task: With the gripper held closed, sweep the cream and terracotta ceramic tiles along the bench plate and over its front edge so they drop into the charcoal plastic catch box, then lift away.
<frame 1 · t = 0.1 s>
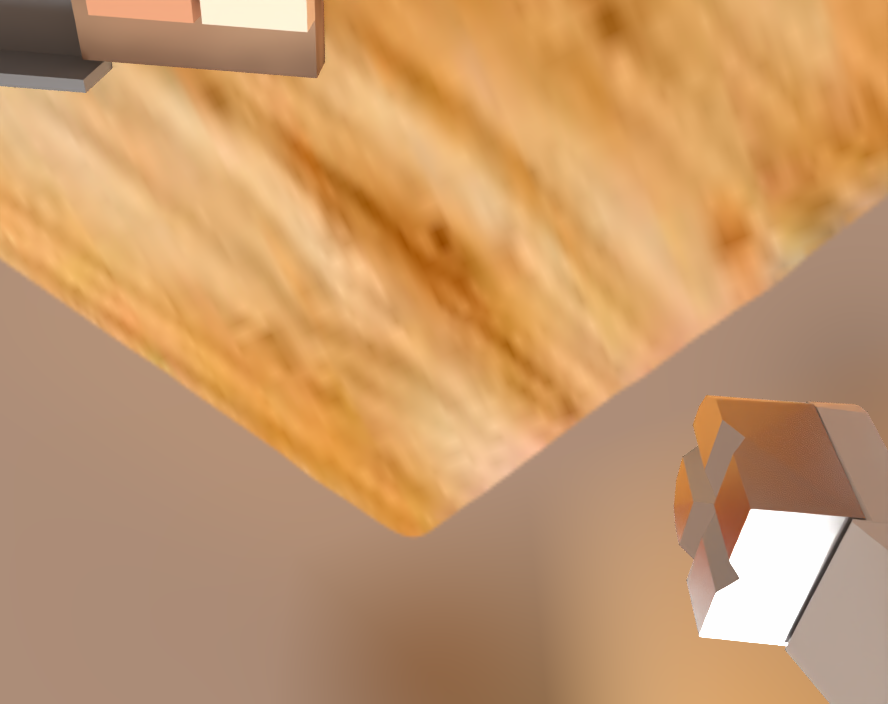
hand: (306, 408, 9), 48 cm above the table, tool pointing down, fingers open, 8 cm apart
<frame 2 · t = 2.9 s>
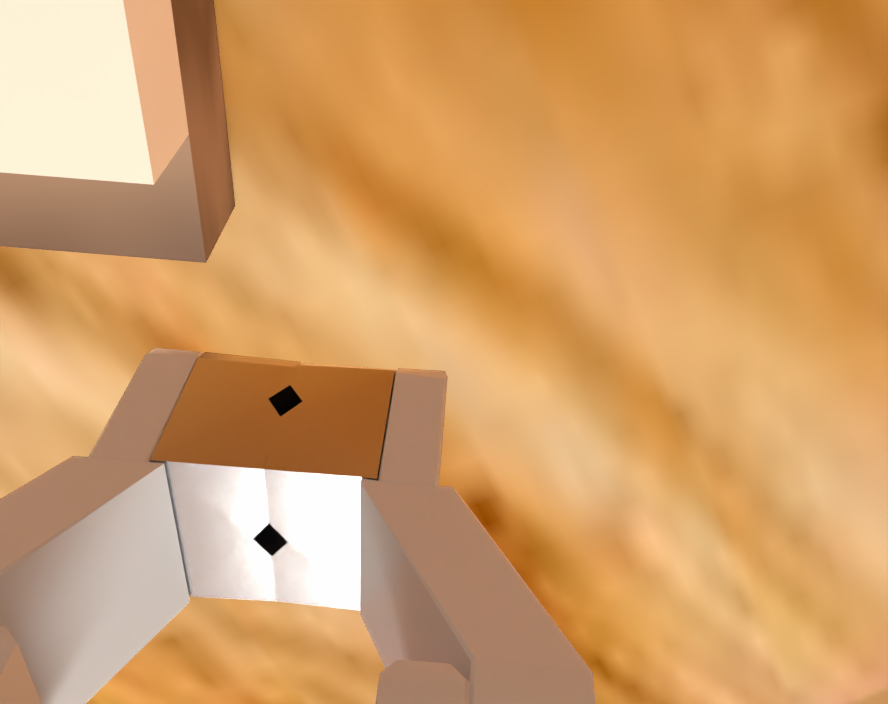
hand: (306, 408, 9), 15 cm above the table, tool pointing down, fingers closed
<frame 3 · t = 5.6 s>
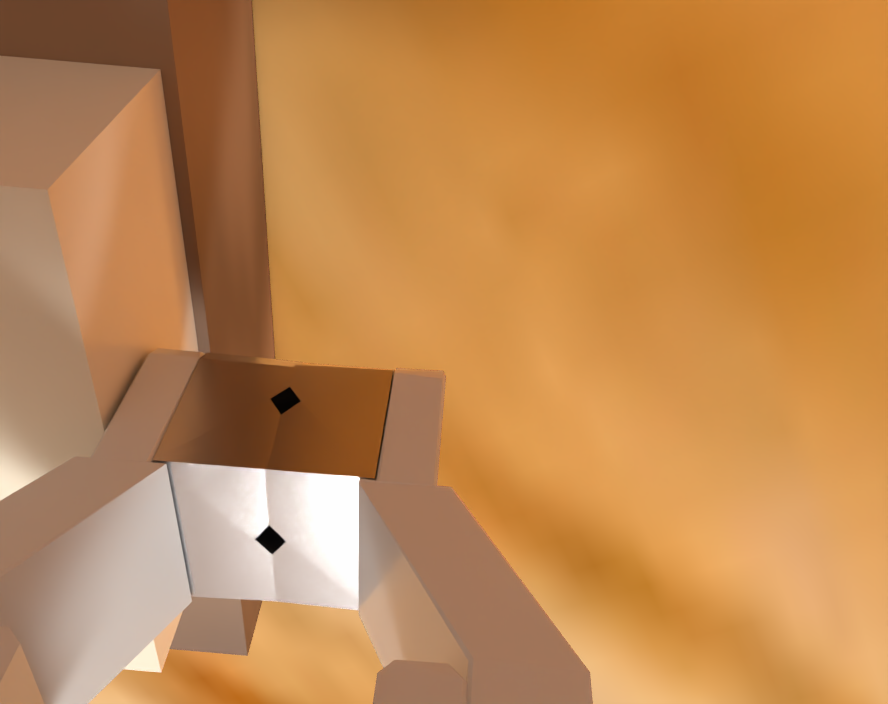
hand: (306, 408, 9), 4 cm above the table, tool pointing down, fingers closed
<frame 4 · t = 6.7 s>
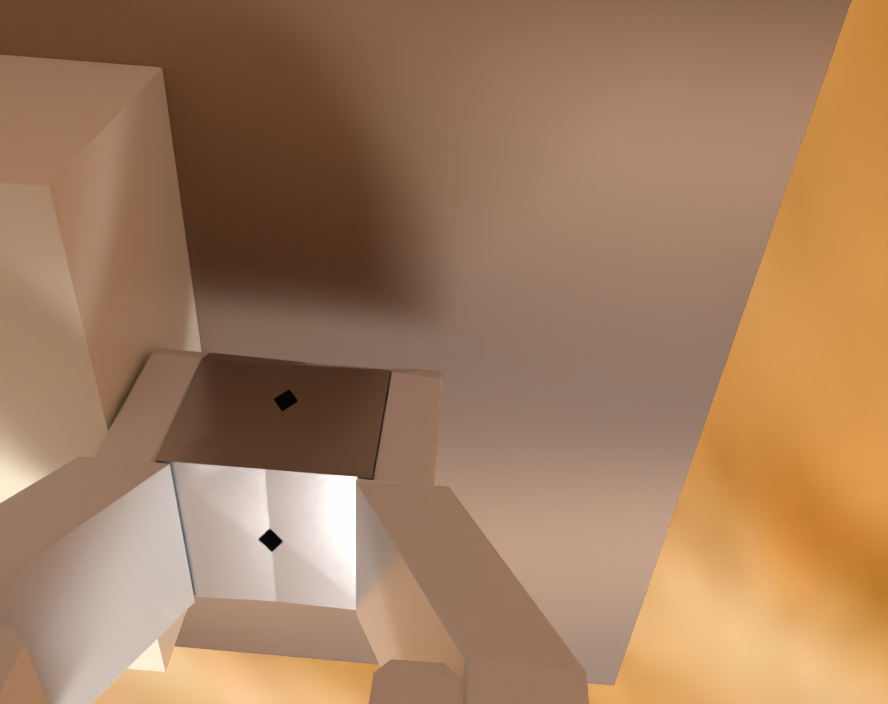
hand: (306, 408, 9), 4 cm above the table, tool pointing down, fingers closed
bench plate: (173, 194, 12), on the table
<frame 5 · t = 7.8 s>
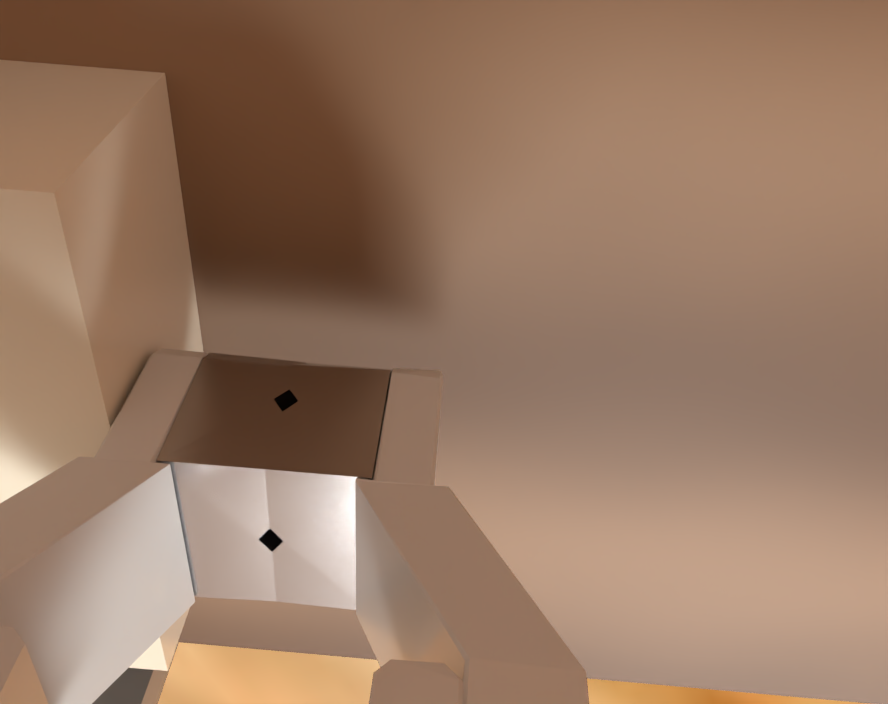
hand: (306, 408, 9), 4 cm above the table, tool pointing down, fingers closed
bench plate: (626, 229, 12), on the table
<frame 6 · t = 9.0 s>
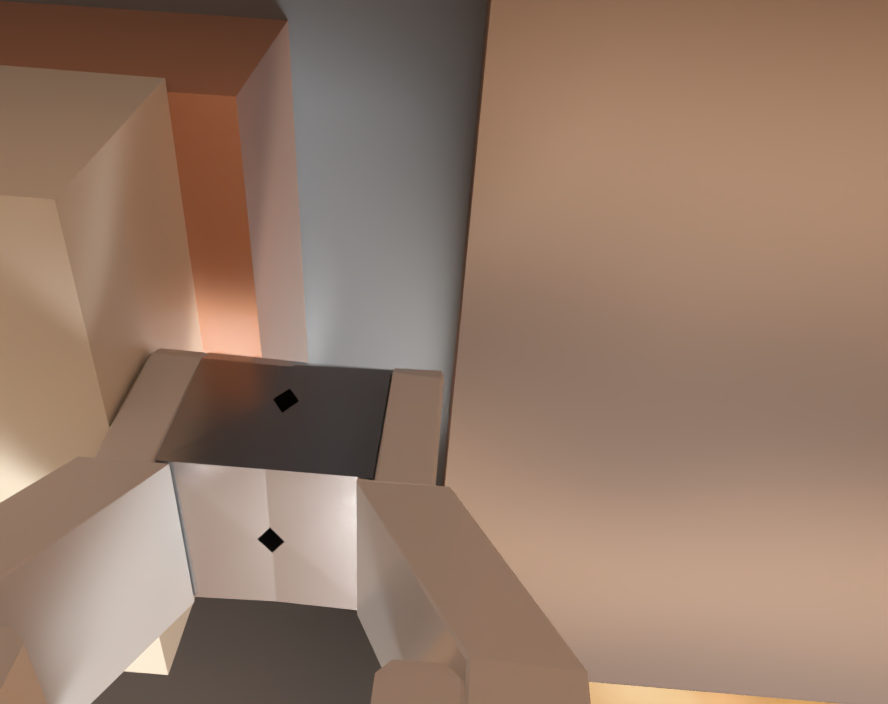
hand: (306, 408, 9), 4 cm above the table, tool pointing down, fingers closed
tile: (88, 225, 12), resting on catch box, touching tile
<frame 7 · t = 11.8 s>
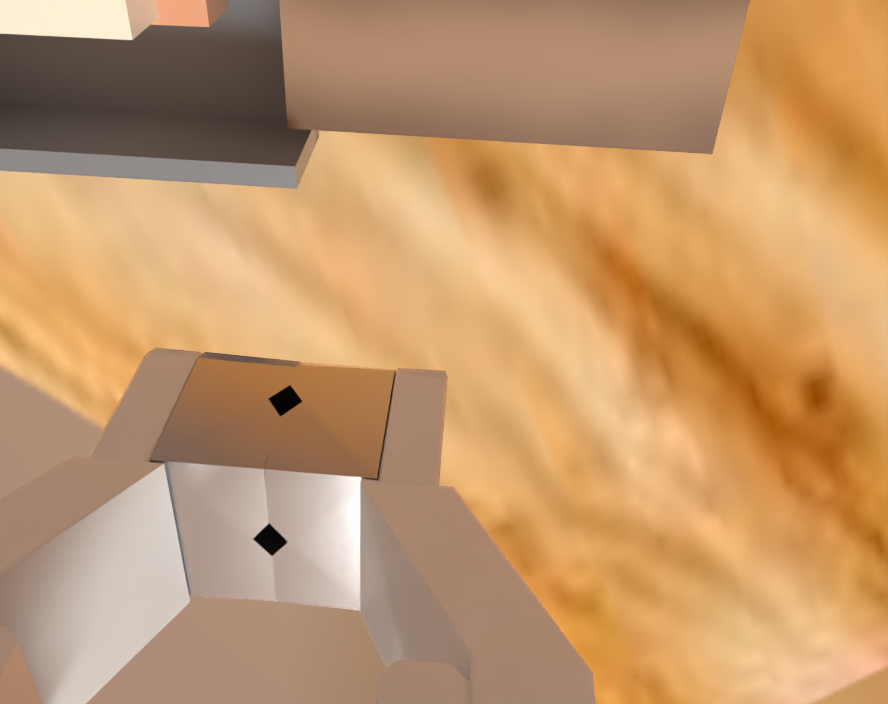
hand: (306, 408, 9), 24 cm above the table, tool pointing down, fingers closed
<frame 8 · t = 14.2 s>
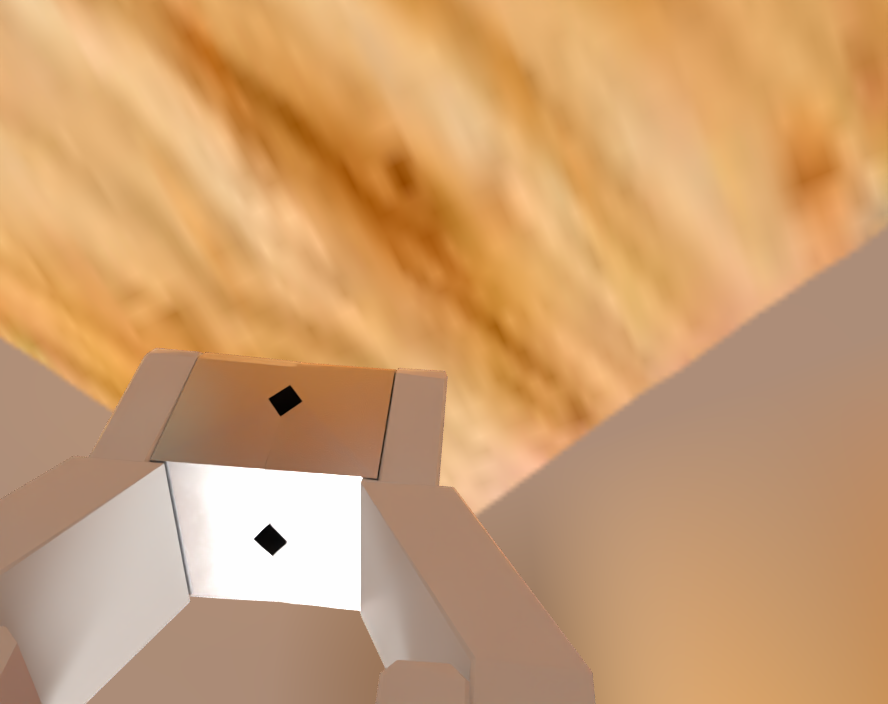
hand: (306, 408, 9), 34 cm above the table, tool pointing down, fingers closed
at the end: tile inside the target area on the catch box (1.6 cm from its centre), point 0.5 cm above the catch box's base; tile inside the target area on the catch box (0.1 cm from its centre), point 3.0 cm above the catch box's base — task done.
